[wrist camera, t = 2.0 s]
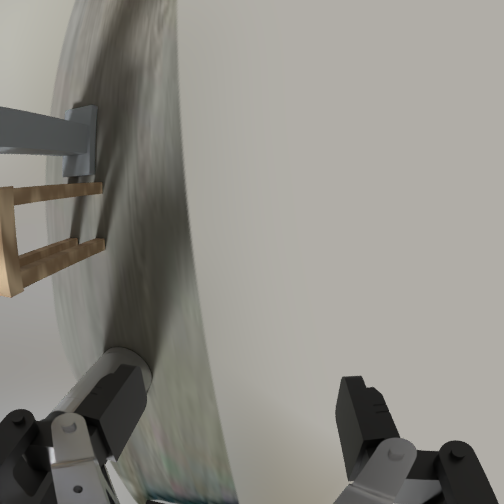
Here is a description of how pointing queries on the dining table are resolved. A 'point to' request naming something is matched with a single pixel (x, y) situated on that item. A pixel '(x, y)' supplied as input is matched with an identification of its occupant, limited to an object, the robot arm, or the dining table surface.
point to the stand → (52, 137)
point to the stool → (46, 258)
